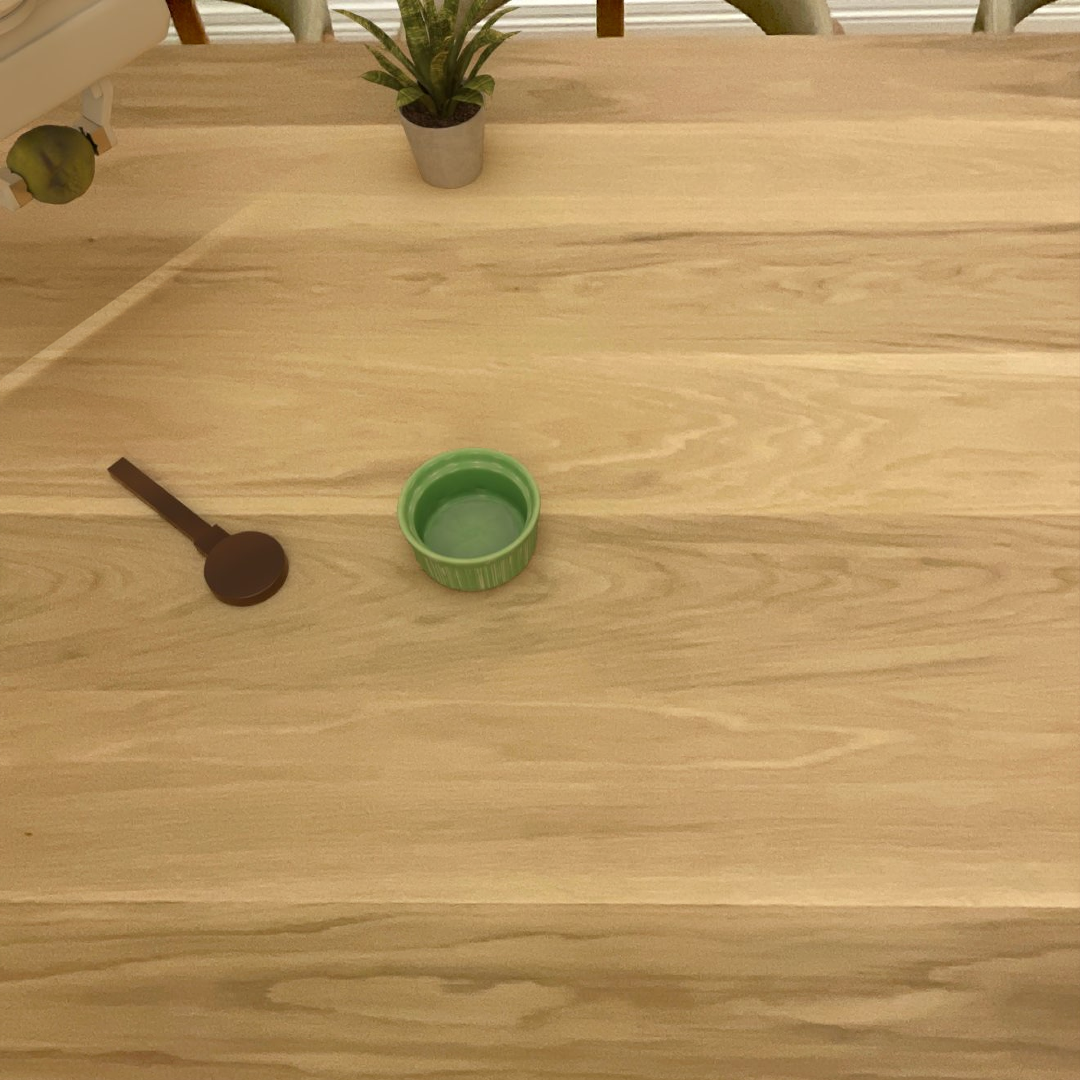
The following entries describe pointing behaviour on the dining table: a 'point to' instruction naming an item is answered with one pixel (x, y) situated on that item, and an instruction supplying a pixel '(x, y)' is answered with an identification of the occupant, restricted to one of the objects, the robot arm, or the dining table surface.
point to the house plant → (439, 87)
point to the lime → (53, 163)
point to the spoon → (215, 544)
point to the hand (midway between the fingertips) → (59, 174)
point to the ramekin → (471, 517)
